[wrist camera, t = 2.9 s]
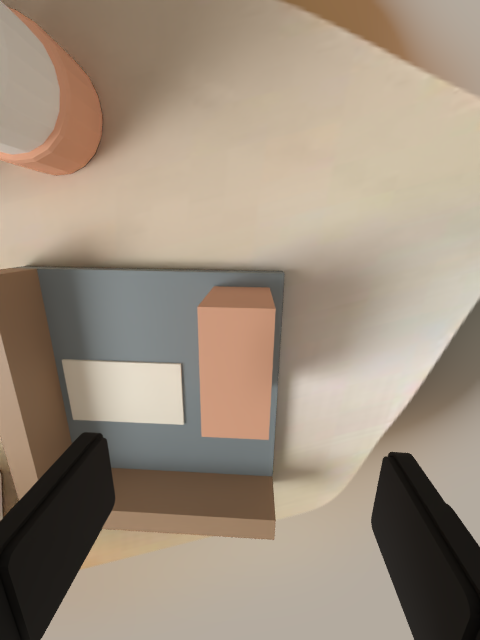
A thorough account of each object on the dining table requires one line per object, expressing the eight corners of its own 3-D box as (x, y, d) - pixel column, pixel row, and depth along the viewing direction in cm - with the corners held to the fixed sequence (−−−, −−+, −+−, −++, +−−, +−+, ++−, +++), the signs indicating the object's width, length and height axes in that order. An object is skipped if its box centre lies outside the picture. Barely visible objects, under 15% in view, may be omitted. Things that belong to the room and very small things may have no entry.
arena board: (23, 266, 21) (-47, 275, 16) (282, 271, 20) (291, 283, 16) (67, 471, 27) (25, 524, 22) (270, 482, 26) (274, 539, 21)
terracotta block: (213, 286, 20) (197, 306, 14) (269, 287, 20) (275, 308, 14) (215, 384, 22) (201, 436, 16) (265, 386, 22) (268, 440, 16)
